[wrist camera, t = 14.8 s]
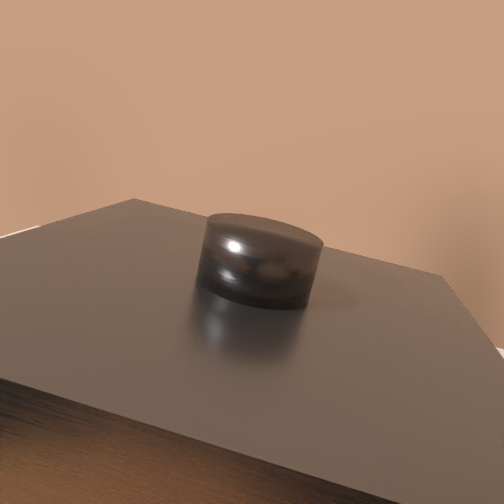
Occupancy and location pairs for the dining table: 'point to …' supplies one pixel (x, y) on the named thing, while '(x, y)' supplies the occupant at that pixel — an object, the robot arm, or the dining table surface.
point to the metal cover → (236, 369)
